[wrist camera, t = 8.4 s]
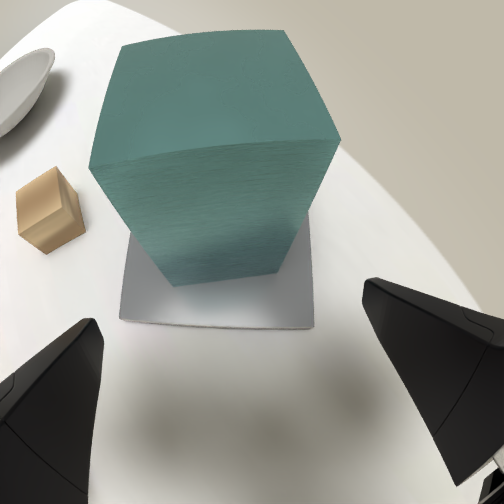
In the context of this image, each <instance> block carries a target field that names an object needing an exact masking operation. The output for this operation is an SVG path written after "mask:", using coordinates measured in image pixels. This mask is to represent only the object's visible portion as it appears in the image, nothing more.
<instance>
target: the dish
mask: <svg viewBox="0 0 504 504" xmlns="http://www.w3.org/2000/svg"><path fill="white" fill-rule="evenodd" d="M54 60H55V53H54V51H53V50H52V49H50V48H42V49H38V50H35V51H32V52H30V53H28V54H26V55H24V56H22V57H20V58H19V59H17V60H16V61H14V62H13V63H11V64H10V65H9V66H7V67H6V68H5V69H3V70H2V71H1V72H0V137H2V136H3V135H5V134H6V133H8V132H9V131H10V130H12V129H13V128H14V127H15V126H16V125H17V124H18V123H19V122H20V121H21V120H22V119H23V118H24V117H25V116H26V114H27V113H28V112H29V111H30V109H31V108H32V107H33V105H34V104H35V102H36V101H37V99H38V97H39V96H40V94H41V92H42V90H43V88H44V85H45V83H46V80H47V77H48V74H49V71H50V69H51V67H52V65H53V63H54Z"/></svg>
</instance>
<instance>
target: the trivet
mask: <svg viewBox="0 0 504 504" xmlns="http://www.w3.org/2000/svg"><path fill="white" fill-rule="evenodd" d="M119 319H121V320H124V321H132V322H142V323H154V324H166V325H180V326H197V327H217V328H249V329H310V328H313V327H314V304H313V280H312V260H311V244H310V229H309V216H308V212H307V214H306V216H305V218H304V220H303V222H302V224H301V226H300V228H299V231H298V233H297V235H296V237H295V239H294V241H293V243H292V245H291V247H290V249H289V251H288V253H287V255H286V257H285V259H284V261H283V263H282V265H281V267H280V269H279V271H278V273H274V274H267V275H260V276H253V277H246V278H239V279H231V280H224V281H217V282H209V283H201V284H193V285H186V286H178V287H172V285H171V284H170V283H169V281H168V280H167V279H166V278H165V276H164V275H163V274H162V272H161V271H160V270H159V269H158V267H157V266H156V265H155V263H154V262H153V261H152V259H151V258H150V257H149V255H148V254H147V253H146V251H145V250H144V249H143V247H142V246H141V245H140V243H139V242H138V240H137V239H136V238H135V236H134V235H133V234H132V232H131V233H130V239H129V245H128V251H127V257H126V264H125V271H124V278H123V285H122V294H121V303H120V312H119Z"/></svg>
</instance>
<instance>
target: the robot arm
mask: <svg viewBox="0 0 504 504" xmlns="http://www.w3.org/2000/svg"><path fill="white" fill-rule="evenodd" d="M362 305H363V308H364V310H365V312H366V314H367V316H368V318H369V320H370V322H371V325H372V327H373V329H374V331H375V333H376V336H377V338H378V340H379V341H380V343H381V345H382V347H383V348H384V350H385V352H386V353H387V355H388V357H389V359H390V360H391V362H392V364H393V365H394V367H395V369H396V371H397V372H398V374H399V376H400V378H401V379H402V381H403V383H404V385H405V387H406V388H407V390H408V392H409V394H410V396H411V397H412V399H413V401H414V403H415V405H416V407H417V409H418V410H419V412H420V414H421V416H422V418H423V420H424V422H425V424H426V426H427V428H428V430H429V432H430V433H431V435H432V437H433V440H434V442H435V444H436V446H437V448H438V450H439V452H440V454H441V456H442V458H443V460H444V462H445V464H446V466H447V469H448V471H449V473H450V475H451V477H452V479H453V482H454V484H455V485H456V487H457V486H459V485H460V484H462V483H463V482H465V481H466V480H468V479H469V478H470V477H472V476H473V475H474V474H476V473H477V472H478V471H480V470H481V469H482V468H483V467H485V466H486V465H487V464H488V463H490V462H491V461H492V460H494V462H495V463H496V465H497V466H498V468H497V469H496V470H495V471H493V472H492V473H491V474H490V475H489V476H487V477H486V478H485V479H484V482H483V486H482V490H481V494H480V498H479V502H478V504H504V319H501V318H497V317H494V316H490V315H487V314H484V313H480V312H477V311H474V310H471V309H468V308H465V307H463V306H459V305H457V304H454V303H451V302H448V301H445V300H442V299H439V298H436V297H434V296H431V295H428V294H425V293H422V292H419V291H416V290H413V289H410V288H407V287H404V286H401V285H398V284H395V283H392V282H389V281H386V280H383V279H380V278H377V277H375V278H370V279H367V280H366V281H365V282H364V289H363V297H362ZM103 350H104V339H103V336H102V334H101V332H100V329H99V327H98V324H97V322H96V320H95V319H94V318H84V319H82V320H80V321H79V322H78V323H76V324H75V325H74V326H72V327H71V328H70V329H68V330H67V331H66V332H64V333H63V334H62V335H60V336H59V337H58V338H56V339H55V340H54V341H53V342H51V343H50V344H49V345H47V346H46V347H45V348H44V349H42V350H41V351H40V352H38V353H37V354H36V355H35V356H33V357H32V358H31V359H30V360H28V361H27V362H26V363H25V364H23V365H22V366H21V367H20V368H18V369H17V370H16V371H15V373H12V374H11V375H10V376H8V377H7V378H6V379H5V380H4V381H2V382H1V383H0V504H88V485H89V469H90V456H91V446H92V437H93V429H94V421H95V414H96V408H97V401H98V395H99V389H100V383H101V373H102V360H103Z"/></svg>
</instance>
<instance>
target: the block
mask: <svg viewBox="0 0 504 504" xmlns="http://www.w3.org/2000/svg"><path fill="white" fill-rule="evenodd" d="M16 208H17V223H18V235H20V236H21V237H22V238H24V239H25V240H26V241H28V242H29V243H30V244H32V245H33V246H35V247H36V248H37V249H39V250H40V251H42V252H43V253H44V254H46V255H47V254H48V253H50V252H52V251H53V250H55V249H57V248H59V247H60V246H62V245H64V244H65V243H67V242H69V241H71V240H72V239H74V238H76V237H78V236H80V235H81V234H83V233H85V232H86V230H85V227H84V223H83V218H82V214H81V210H80V206H79V201H78V196H77V193H76V192H75V190H74V189H73V188H72V186H71V185H70V184H69V183H68V181H67V180H66V179H65V177H64V176H63V175H62V173H61V172H60V171H59V169H58V168H57V167H56V166H55V167H54V168H52V169H50V170H49V171H47V172H45V173H44V174H42V175H41V176H39V177H38V178H36V179H34V180H33V181H31V182H30V183H28V184H27V185H25V186H24V187H22V188H21V189H19V190H18V191H17V192H16Z"/></svg>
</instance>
